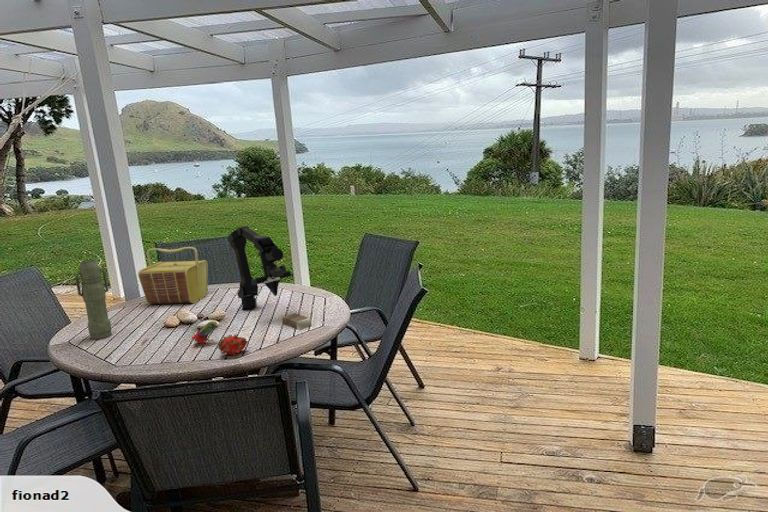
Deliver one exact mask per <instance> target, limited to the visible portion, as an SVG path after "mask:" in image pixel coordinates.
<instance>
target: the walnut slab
mask: <svg viewBox="0 0 768 512" xmlns="http://www.w3.org/2000/svg"><path fill="white" fill-rule="evenodd" d="M282 324H283V325H284V326H287V327H290V328H293V329H295V330H298V331H299V330H302V329H305V328H308V327H311V326H312V319H311V317H308V316H305V315H301V314H299V313H296V312H295V313H292V314H289V315H286V316H283V317H282Z"/></svg>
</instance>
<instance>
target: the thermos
mask: <svg viewBox="0 0 768 512" xmlns="http://www.w3.org/2000/svg"><path fill="white" fill-rule="evenodd" d="M101 273H102V274H103V275H102V276H103V280H104V281H103V280H102V279H101V277H102V276H101ZM79 277H80V279H79ZM74 279H75V285H76V290H77V295H78V296H79V297H82V301H83V302H84V304H85V309H86V315H87V320H88V322H87V329H88V334H89V336H90V340H92V341H97V340H100V341H101V340H104V339H108V338H110V337H111V336H113V333H112V323H111V320H110V318H109V315H108V308H107V303H106V297H107V296H106V293H107V292H109V283H108V279H107V272H106V271H105V270H104V269H103V268H102V269H101V268H100V265H99V263H98V261H97V260H96V259H86V260H82V261H80V264H79V272H78V273H76V275H75V277H74ZM79 280H81V285H82V286H80V281H79ZM102 281H103V282H104V283H103V282H102Z"/></svg>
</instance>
